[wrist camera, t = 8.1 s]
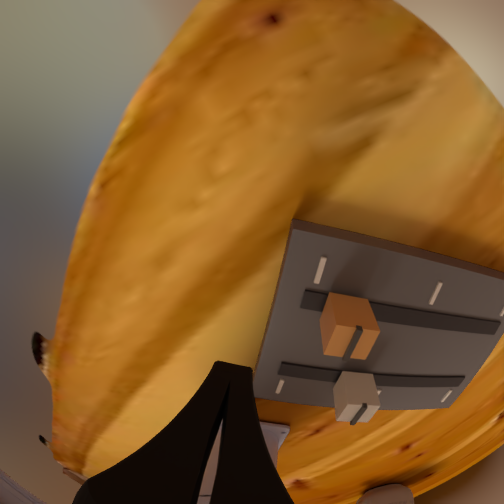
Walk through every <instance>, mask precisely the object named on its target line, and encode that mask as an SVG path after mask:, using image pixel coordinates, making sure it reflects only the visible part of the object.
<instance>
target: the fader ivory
mask: <svg viewBox="0 0 504 504" xmlns="http://www.w3.org/2000/svg"><path fill="white" fill-rule="evenodd" d="M333 394H334V404H335V414H336V421H347V422H350V425H355V424H356V422H368V421H369V420H370V419H371V417H372V416H373V415H374V414H375V412H376V411H377V410H378V409H379V407H380V406H381V405H380V401H379V397H378V393H377V388H376V384H375V381H374V377H373V374H368V373H357V372H347V371H342V373H341V375H340V377H339V379H338V381H337V382H336V384H335V386H334V388H333Z"/></svg>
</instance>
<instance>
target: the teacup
mask: <svg viewBox="0 0 504 504" xmlns="http://www.w3.org/2000/svg"><path fill="white" fill-rule="evenodd" d="M356 504H414V499H413V494H412V492H411V490H410V489H409V488H408V487H405V486H403V485H401V484H390V485H385V486H381V487H377V488H374V489H371V490H369V491H367V492H366V493H364V495H363V496H362V497H361V498H359V499H358V501H357V502H356Z"/></svg>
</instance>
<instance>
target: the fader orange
mask: <svg viewBox="0 0 504 504" xmlns="http://www.w3.org/2000/svg"><path fill="white" fill-rule="evenodd" d="M319 321H320V329H321V337H322V345H323V354H324V355H330V356H338V357H342V360H343V361H346V362H348V361H349V359H350V358H354V359H363V360H365V359H366V358H367V356H368V354H369V352H370V350H371V348H372V346H373V345H374V343H375V341H376V339H377V337H378V335H379V333H380V329H379V326H378V324H377V321H376V319H375V316H374V313H373V311H372V308H371V306H370V303H369V301H368V299H364V298H359V297H353V296H348V295H342V294H337V293H332V292H329V295H328V298H327V300H326V303H325V306H324V309H323V312H322V314H321V317H320V320H319Z"/></svg>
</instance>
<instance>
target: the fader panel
mask: <svg viewBox="0 0 504 504" xmlns="http://www.w3.org/2000/svg"><path fill="white" fill-rule="evenodd" d="M329 292H332V293H337V294H342V295H348V296H353V297H359V298H364V299H368V301H369V303H370V306H371V308H372V311H373V313H374V316H375V319H376V321H377V324H378V326H379V329H380V333H379V335H378V337H377V339H376V341H375V343H374V345H373V346H372V348H371V350H370V352H369V354H368V356H367V358H366V359H365V360H363V359H354V358H350V359H349V361H348V362H346V361H343V360H342V357H338V356H330V355H324V354H323V345H322V337H321V329H320V321H319V320H320V317H321V314H322V312H323V309H324V306H325V303H326V300H327V298H328V295H329ZM503 333H504V273H503V272H500V271H496V270H493V269H490V268H486V267H483V266H480V265H476V264H473V263H470V262H466V261H463V260H459V259H456V258H452V257H448V256H445V255H441V254H437V253H434V252H430V251H426V250H423V249H419V248H415V247H411V246H407V245H403V244H400V243H396V242H392V241H388V240H384V239H380V238H375V237H371V236H367V235H363V234H359V233H355V232H350V231H346V230H342V229H337V228H333V227H328V226H324V225H319V224H315V223H310V222H306V221H301V220H296V219H292V222H291V227H290V231H289V236H288V240H287V244H286V248H285V253H284V257H283V261H282V265H281V269H280V273H279V277H278V282H277V286H276V290H275V294H274V298H273V302H272V306H271V309H270V313H269V317H268V321H267V325H266V329H265V333H264V337H263V340H262V344H261V348H260V352H259V355H258V359H257V363H256V366H255V370H254V374H253V390H254V397H257V398H262V399H268V400H275V401H281V402H288V403H296V404H304V405H313V406H323V407H335V404H334V394H333V388H334V386H335V384H336V382H337V381H338V379H339V377H340V375H341V373H342V371H347V372H357V373H368V374H373V377H374V381H375V384H376V388H377V393H378V397H379V401H380V405H381V406H380V407H379V409H378V410H415V409H436V408H449V407H450V406H451V405H452V403H453V402H454V401H455V400H456V399H457V398H458V396H459V395H460V394H461V393H462V391H463V390H464V389H465V388H466V386H467V385H468V384H469V383H470V381H471V380H472V379H473V377H474V376H475V375H476V373H477V372H478V371H479V369H480V368H481V366H482V365H483V364H484V362H485V361H486V359H487V358H488V356H489V355H490V353H491V352H492V350H493V349H494V347H495V346H496V344H497V343H498V341H499V339H500V338H501V336H502V335H503Z"/></svg>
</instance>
